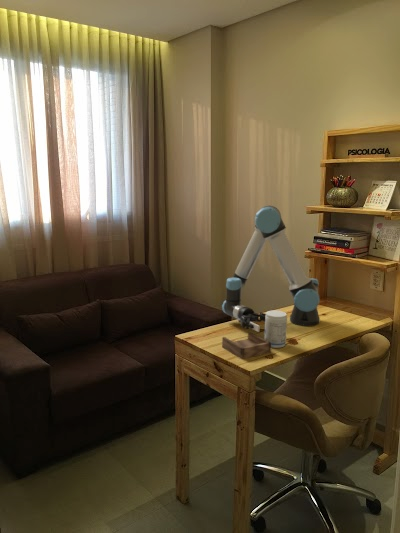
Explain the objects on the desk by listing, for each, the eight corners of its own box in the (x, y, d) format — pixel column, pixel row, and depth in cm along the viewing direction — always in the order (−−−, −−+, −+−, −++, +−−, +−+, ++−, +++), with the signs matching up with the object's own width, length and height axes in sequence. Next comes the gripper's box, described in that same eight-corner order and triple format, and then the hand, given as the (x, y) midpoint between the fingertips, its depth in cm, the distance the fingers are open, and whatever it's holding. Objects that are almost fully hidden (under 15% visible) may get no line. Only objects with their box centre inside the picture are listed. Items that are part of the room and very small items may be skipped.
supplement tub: (263, 340, 209) (265, 309, 206) (284, 341, 208) (286, 310, 205) (264, 348, 199) (265, 316, 196) (286, 349, 198) (288, 317, 195)
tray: (249, 341, 207) (250, 332, 206) (270, 352, 194) (271, 342, 193) (222, 347, 200) (222, 337, 199) (241, 359, 187) (242, 348, 186)
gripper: (264, 317, 228) (292, 330, 210) (222, 325, 216) (247, 339, 198) (264, 303, 227) (293, 314, 209) (222, 309, 215) (248, 322, 197)
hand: (271, 326), depth 203 cm, fingers open, 13 cm apart
